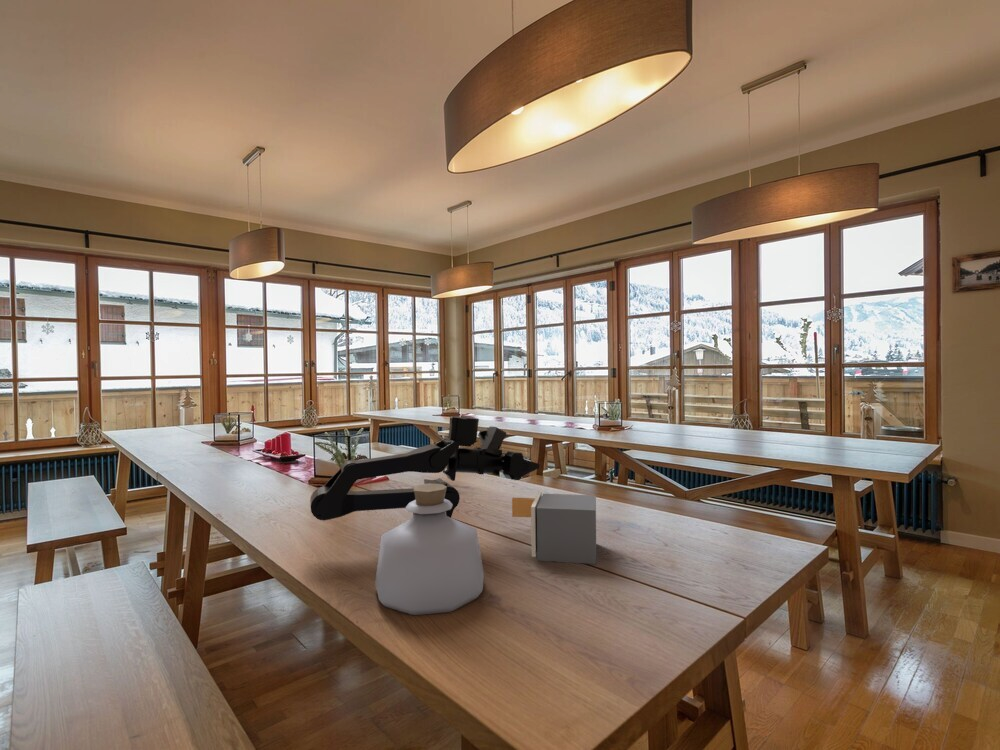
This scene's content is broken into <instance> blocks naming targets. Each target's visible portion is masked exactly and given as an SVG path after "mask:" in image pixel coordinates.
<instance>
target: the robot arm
mask: <svg viewBox="0 0 1000 750" xmlns="http://www.w3.org/2000/svg"><path fill="white" fill-rule="evenodd" d="M479 420H480V418H477V417H471V416H463V415H462V416H450V417H449V429H448V437H444V438H442V439H441V440H440V441H437V442H436V443H435V444H427V445H423V446H421V447H418V448H415V449H413V450H411V451H408V452H405V453H401V454H400V453H399V454H393V455H387V456H386V455H385V456H379V457H372V458H371V457H370V458H365V459H359V460H358V459H357V460H353V459H351V460H350V459H349V460H347V461H345V462H343V463H342V465H341V467H340V468H339V469H338V470H337V472H336V473H334V474H333V476H332V477H330V478H329V479H328V481H327V482H326V483H325V484H324V486H320V487H317V489H315V490H314V491H313V492H312V493H311V495H310V500H309V503H310V504H309V505H310V512H311V514H312V516H313V517H315V518H316V519H317V520H318V521H319V520H320V521H329V520H333V519H338V518H342V517H345V516H346V515H349V514H352V513H355V512H365V511H377V510H378V511H379V510H395V509H406V506H407V505H408V504H409V503H410V502H412V501H414V500H416V499H415V493H414V487H413V488H412V487H411V488H396V489H395V488H394V489H392V488H391V489H377V490H376V489H375V490H357V491H356V490H355V491H354V490H351V488H352V487H353V486H354V484H355V483H356V482H357V481H358V480H365V479H371V478H376V477H381V476H382V477H383V476H389V475H396V474H401V473H410V472H413V473H423V474H439V473H443V474H445V476H446V477H447V479H449V480H450V481H452V482H454V481H455V480H456V476H457V473H467V474H478V475H484V474H489V475H495V476H500V472H501V471H502V475H503V476H504V477H505V478H506V479H509V480H510V481H511V480H513V481H520V480H521V479H522V477H524V476H526V475H528V474H531V473H533V472H534V471H537V470H538V469H540V463H537V462H533V461H531V460H527V459H525V458H524V455H523V453H522V452H517V451H507V452H506V453H505V454H503V449H501V446H502V444H503V442H504V439H505V438H506V437H507V432H506V431H505V430H502V429H501V428H498V427H496V426H489V427H487V428H486V430H482V429H481V430H479V432H478V428H479ZM477 437H478V438H479V439H480V443H481V445H480V447H478V446H475V448H470V447H472V446H473V445H475V443H476V442H477ZM461 446H462V447H461ZM465 447H469V448H465ZM428 483H430V484H443V485H445V486H447V489H446V493H445V498H444V499H447V500H449V501H450V502H451V503H452V504H453V506H452V508H451V509H450V510H447V511H446V516H448V517H450V518H452V517H453V513H454V510H455V509H456V507H457V506H458V505H459V503H460V500H461V499H460V493H459V491H458V490H457V489H456V488H455V487H454V486H452V485H451V484H450V483H449V482H447V481H445V480H443V479H442V478H436V479H426V478H425V479H423V484H428Z"/></svg>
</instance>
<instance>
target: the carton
mask: <svg viewBox="0 0 1000 750" xmlns="http://www.w3.org/2000/svg"><path fill="white" fill-rule="evenodd" d="M596 497H597V495H595V494H568V493H567V494H566V493H561V494H560V493H542V497H541V499H540V502H539V504H538V506H537V554H536V557H537V562H538V561H539V562H552V561H557V562H556V563H571V564H572V563H573V564H585V565H586V564H589V565H597V498H596Z"/></svg>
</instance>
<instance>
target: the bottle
mask: <svg viewBox="0 0 1000 750" xmlns="http://www.w3.org/2000/svg"><path fill="white" fill-rule="evenodd" d="M413 488H414V493H415V499H416V500H414V501H412V502H410V503H409V504H408V505H407V506H406V508H405V510H406V511H407V512H408V513H412V518H410V519H407V520H406V521H405V522H402V523H401V524H399V525H397V526H396V527H393V528H392V529H390V530H388V531H387V532H385V533H383V534H382V535H381V538H380V545H379V552H378V559H377V567H376V573H375V581H374V585H375V588H376V592H377V597H378V600H379V602H380V603H381V604H382V605H383V606H384V607H385V608H388V609H392V610H394V611H395V610H396V611H398V612H402V613H404V614H407V615H408V614H409V615H410V616H421V615H430V614H439V613H450V612H453V611H455V610H457V609H459V608H461V607H463V606H465V605H467V604H469V603H471V602H472V601H475V600H476V599H478V597H479V596H480V595H481V593H483V588H484V581H485V580H484V578H485V572H484V565H483V560H482V554H481V549H480V543H479V535H478V529H477V528H476V527H474V526H472V525H469V524H466V523H464V522H461V521H459V520H457V519H455V518H453V517H451V518H450V517H448V516H446V511H447V510H450V509H451V508H452V506H453V504H452V503H451V502H450V501H449V500H447V499H444V498H445V493H446V489H447V486H445V485H443V484H430V483H428V484H424V483H423V484H418V485H414V486H413Z"/></svg>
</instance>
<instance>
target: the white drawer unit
mask: <svg viewBox="0 0 1000 750" xmlns="http://www.w3.org/2000/svg"><path fill="white" fill-rule="evenodd" d="M542 495H543V492H542V491H537V493H536V495H535V497H512V498H511V508H512V509H511V511H512V512H511V513H512V514H511V516H512V517H513V518H530V523H531V524H530V525H531V526H530V527H531V528H530V529H531V531H530V532H531V533H530V534H531V537H530V538H531V539H530V541H531V557H532V558H536V557H537V506H538V504H539V502H540V499H541V497H542Z"/></svg>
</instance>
